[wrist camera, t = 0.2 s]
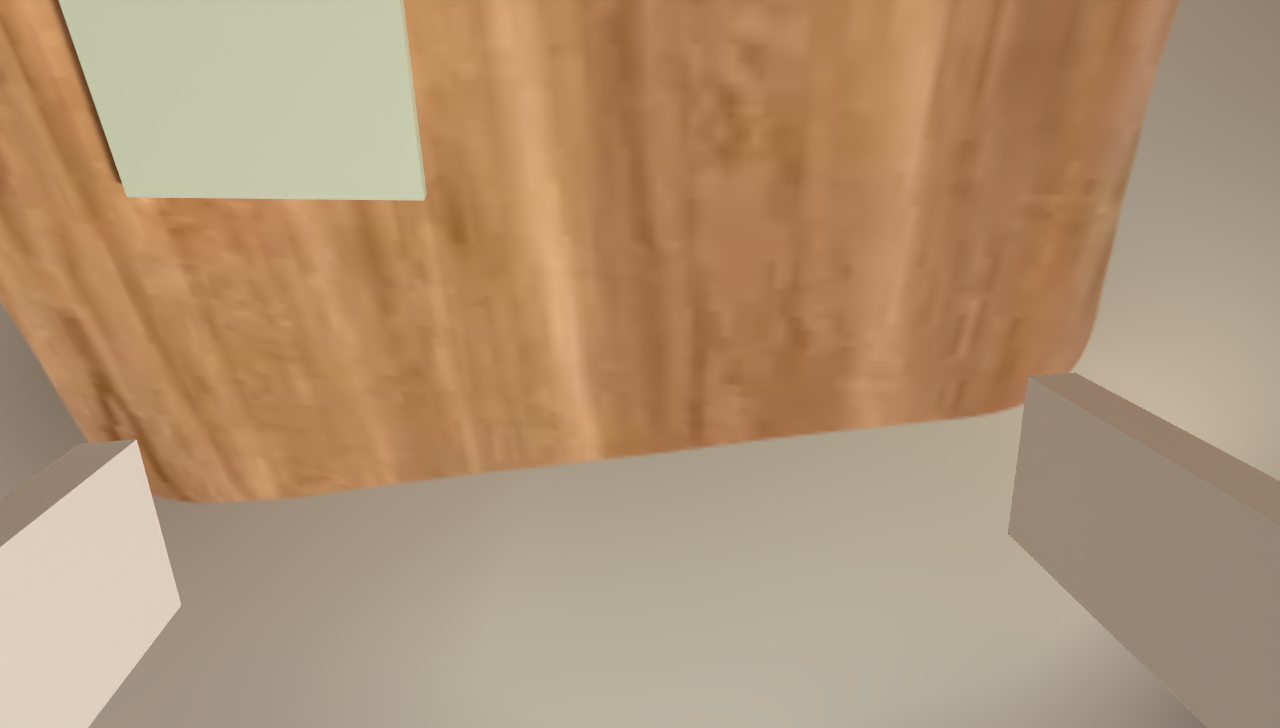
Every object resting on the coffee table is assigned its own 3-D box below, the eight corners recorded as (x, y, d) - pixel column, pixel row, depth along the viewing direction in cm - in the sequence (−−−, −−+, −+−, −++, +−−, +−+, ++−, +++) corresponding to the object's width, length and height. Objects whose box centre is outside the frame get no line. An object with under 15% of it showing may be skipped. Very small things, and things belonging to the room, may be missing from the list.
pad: (29, -120, 29) (17, -119, 28) (391, -105, 30) (387, -103, 29) (135, 190, 36) (127, 197, 35) (426, 193, 37) (424, 200, 36)
